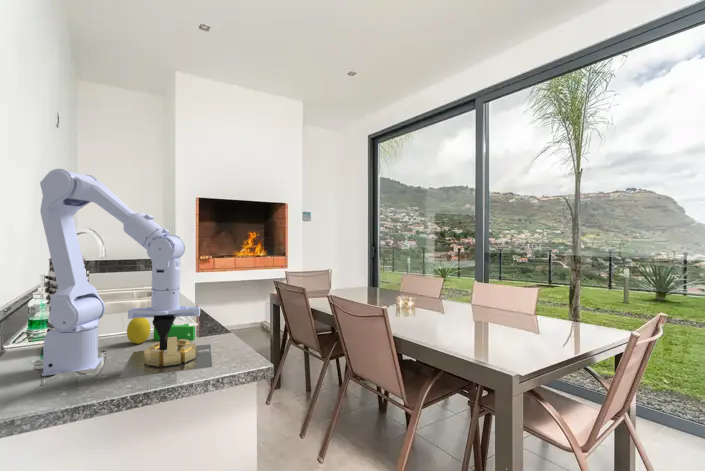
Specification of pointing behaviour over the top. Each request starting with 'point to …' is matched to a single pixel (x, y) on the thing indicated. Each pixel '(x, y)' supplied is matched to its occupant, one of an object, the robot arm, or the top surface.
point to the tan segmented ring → (170, 352)
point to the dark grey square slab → (139, 368)
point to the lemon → (138, 330)
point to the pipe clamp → (179, 332)
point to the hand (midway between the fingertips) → (164, 349)
